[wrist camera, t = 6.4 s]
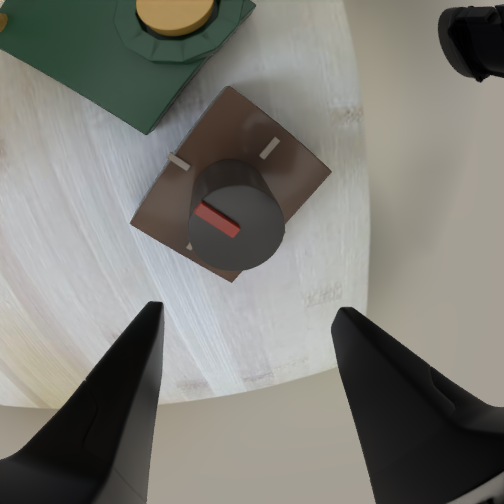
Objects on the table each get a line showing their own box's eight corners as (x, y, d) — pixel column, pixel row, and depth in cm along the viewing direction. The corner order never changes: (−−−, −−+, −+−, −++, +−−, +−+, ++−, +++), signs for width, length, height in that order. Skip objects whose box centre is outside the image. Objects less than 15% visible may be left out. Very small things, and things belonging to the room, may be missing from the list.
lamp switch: (228, -1, 11) (231, -11, 9) (182, 48, 12) (179, 43, 10) (174, -31, 9) (171, -43, 8) (129, 17, 10) (120, 10, 9)
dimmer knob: (281, 188, 17) (306, 224, 13) (236, 241, 19) (245, 289, 15) (222, 144, 15) (228, 166, 11) (177, 204, 17) (168, 245, 13)
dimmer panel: (319, 162, 20) (336, 175, 17) (231, 261, 23) (235, 286, 20) (221, 83, 16) (224, 82, 13) (135, 203, 19) (124, 222, 17)
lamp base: (257, 13, 14) (269, -4, 10) (156, 132, 17) (143, 144, 14) (81, -69, 7) (61, -89, 3) (-2, 40, 10) (-33, 39, 7)
